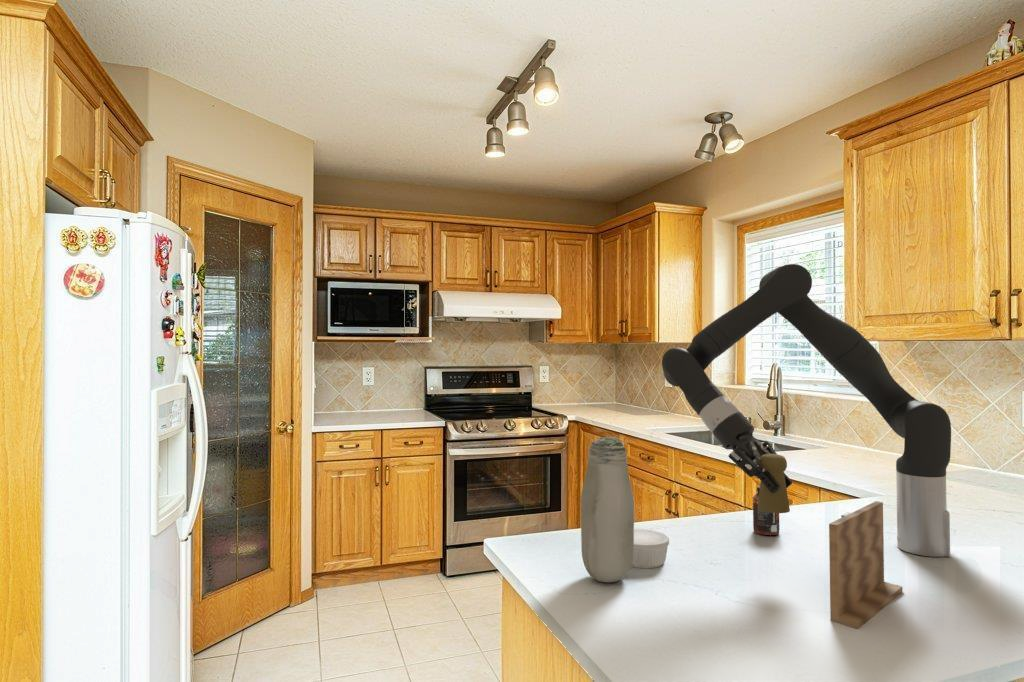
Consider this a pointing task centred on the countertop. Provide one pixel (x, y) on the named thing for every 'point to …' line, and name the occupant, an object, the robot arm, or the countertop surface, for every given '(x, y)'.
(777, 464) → the olive pawn figure
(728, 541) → the countertop surface
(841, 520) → the shelf wall
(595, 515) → the grey bottle
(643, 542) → the ramekin
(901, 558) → the countertop surface
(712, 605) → the countertop surface
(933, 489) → the robot arm
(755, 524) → the supplement bottle
